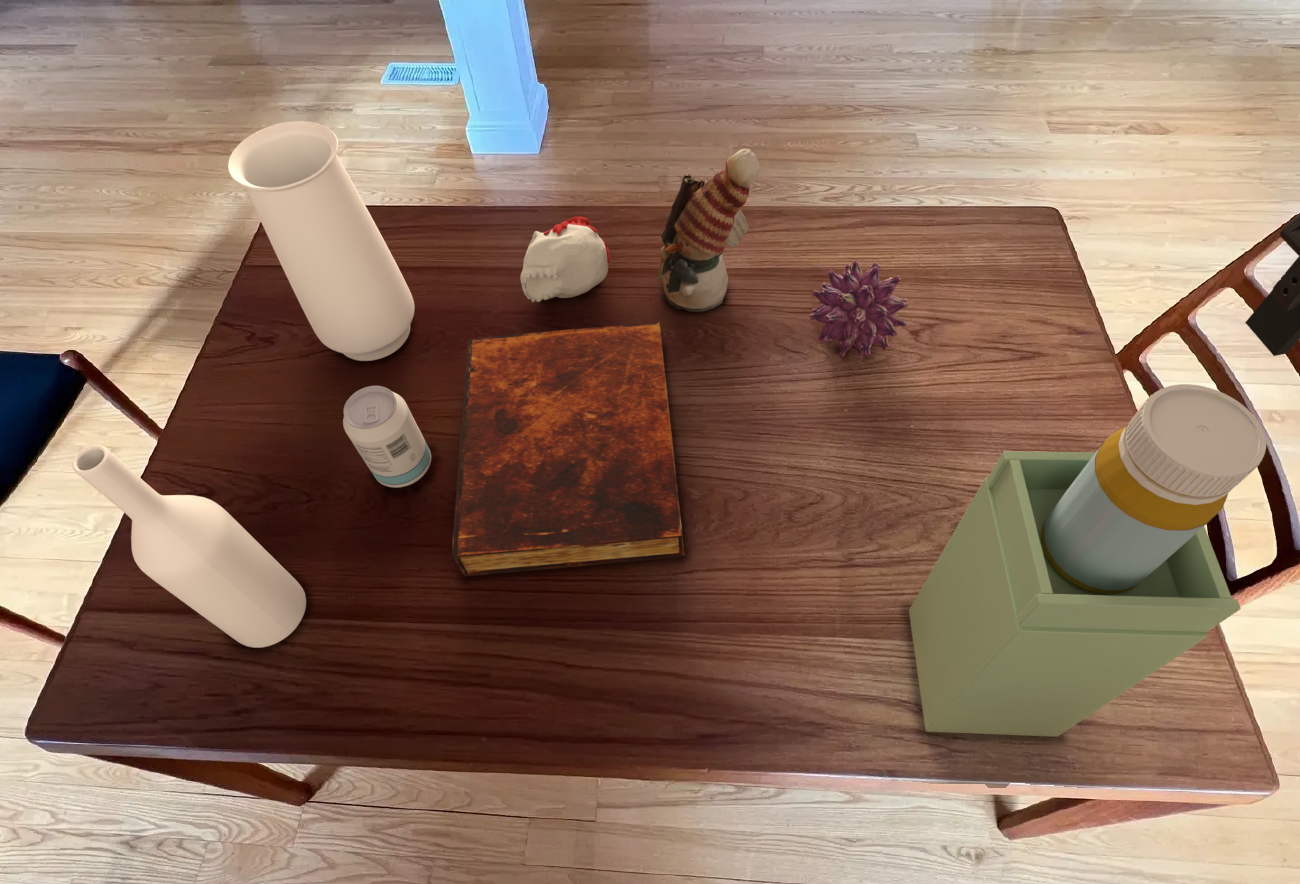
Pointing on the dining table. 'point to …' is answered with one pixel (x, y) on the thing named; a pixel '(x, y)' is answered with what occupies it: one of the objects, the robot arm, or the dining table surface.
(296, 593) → the bottle
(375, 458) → the beverage can
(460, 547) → the book
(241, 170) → the vase
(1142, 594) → the stand
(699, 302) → the figurine
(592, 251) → the white and red skull
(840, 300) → the flower
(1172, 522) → the bottle
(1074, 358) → the dining table surface
